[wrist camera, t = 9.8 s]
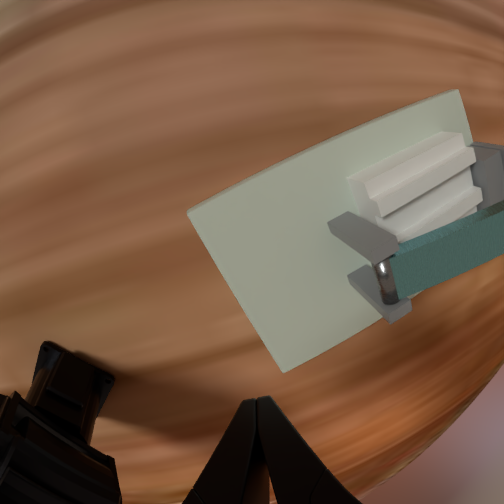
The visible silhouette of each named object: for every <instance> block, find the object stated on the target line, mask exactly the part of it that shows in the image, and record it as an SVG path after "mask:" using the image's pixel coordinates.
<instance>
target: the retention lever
mask: <svg viewBox="0 0 504 504" xmlns="http://www.w3.org/2000/svg"><path fill="white" fill-rule="evenodd" d="M398 245H399V249H400V250H398V251H397V252H395V253H394V254H392V255H390V256H389V257H387V258H385V259H384V260H382V261H381V262H379V263H377V264H376V265H374V264H373V263H371V265H372V268H373V272H374V275H375V278H376V282H377V285H378V289H379V293H380V296H381V300H382V303H383V304H385V305H394V304H396V303H398V302H399V301H400V300H401V299H402V298H405V297H407V296H410V295H412V294H415V293H417V292H420V291H422V290H425V289H427V288H430V287H432V286H434V285H437V284H439V283H441V282H444V281H446V280H448V279H450V278H453V277H455V276H457V275H459V274H462V273H464V272H466V271H468V270H470V269H473V268H475V267H477V266H479V265H481V264H483V263H485V262H487V261H489V260H491V259H493V258H495V257H498V256H500V255H502V254H503V253H504V200H502V201H500V202H498V203H496V204H493V205H491V206H489V207H487V208H484V209H482V210H480V211H477V212H475V213H473V214H471V215H468V216H466V217H464V218H461V219H459V220H456V221H454V222H452V223H449V224H447V225H445V226H442V227H440V228H437V229H435V230H432V231H430V232H428V233H425V234H423V235H420V236H418V237H415V238H413V239H410V240H408V241H405V242H403V243H400V244H398Z"/></svg>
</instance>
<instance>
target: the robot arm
mask: <svg viewBox="0 0 504 504" xmlns="http://www.w3.org/2000/svg"><path fill="white" fill-rule="evenodd" d="M46 347H47V348H48V349H47V348H46ZM107 379H109V380H107ZM114 381H115V378H114V376H113V375H111V374H109V373H107V372H105V371H103V370H101V369H99V368H97V367H95V366H93V365H90V364H88V363H87V362H85V361H83V360H81V359H79V358H77V357H75V356H73V355H71V354H69V353H67V352H66V351H64V350H62V349H60V348H58V347H56V346H55V345H53V344H51V343H49V342H47V341H44V342H43V343H42V345H41V347H40V351H39V355H38V359H37V363H36V367H35V372H34V376H33V381H32V386H31V388H30V390H29V392H28V394H27V396H26V398H25V400H24V399H23V398H22V397H21V395H20V394H19V393H17V392H16V391H14V392H13V393H12V394H11V395H10V396H7V395H6V396H5V395H2V394H0V504H122V496H121V491H120V487H119V482H118V476H117V471H116V465H115V459H114V458H112V457H111V456H109V455H105V454H103V453H101V452H100V451H98V450H96V449H95V448H93V447H91V446H90V443H91V438H92V434H93V429H94V424H95V420H96V418H97V416H98V414H99V412H100V410H101V408H102V406H103V404H104V402H105V400H106V398H107V396H108V394H109V392H110V390H111V388H112V387H113V385H114ZM269 475H270V479H271V482H272V486H273V490H274V493H275V497H276V500H277V504H362V503H361V502H360V501H359V500H358V499H356V498H355V497H354V496H353V495H352V494H351V493H350V492H349V491H348V490H346V488H345V487H344V486H343V485H342V484H341V483H340V482H339V481H338V480H337V479H336V478H335V476H334V475H333V474H332V473H331V472H330V471H329V469H327V467H326V466H325V465H324V464H323V463H322V461H321V460H320V459H319V458H318V456H317V455H316V454H315V453H314V452H313V450H312V449H311V448H310V447H309V445H308V444H307V443H306V441H305V440H304V439H303V438H302V436H301V435H300V434H299V433H298V431H297V430H296V429H295V427H294V426H293V425H292V424H291V422H290V421H289V420H288V418H287V417H286V416H285V414H284V413H283V412H282V410H281V409H280V408H279V406H278V405H277V404H276V402H275V401H274V400H273V398H272V397H271V396H269V395H268V396H263V397H258V398H257V400H256V399H255V398H252V399H247V400H243V401H242V402H241V404H240V406H239V408H238V410H237V412H236V413H235V415H234V417H233V419H232V421H231V422H230V424H229V426H228V428H227V430H226V431H225V433H224V435H223V437H222V438H221V440H220V442H219V444H218V445H217V447H216V449H215V451H214V452H213V454H212V456H211V458H210V459H209V461H208V463H207V464H206V466H205V468H204V469H203V471H202V473H201V474H200V476H199V478H198V479H197V481H196V483H195V484H194V486H193V488H194V489H191V490H190V492H189V494H188V495H187V497H186V498H185V500H184V501H183V503H182V504H269Z"/></svg>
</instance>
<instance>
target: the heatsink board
mask: <svg viewBox="0 0 504 504" xmlns="http://www.w3.org/2000/svg"><path fill="white" fill-rule="evenodd" d="M502 200H504V146H502V145H496V144H489V143H482V142H473V140H472V136H471V132H470V128H469V124H468V120H467V117H466V113H465V110H464V106H463V103H462V100H461V96H460V93H459V90H458V89H455V90H448V91H445V92H442V93H440V94H437V95H434V96H432V97H429V98H426V99H424V100H421V101H418V102H416V103H413V104H411V105H408V106H405V107H403V108H400V109H398V110H395V111H393V112H390V113H388V114H385V115H383V116H381V117H378V118H376V119H373V120H371V121H369V122H366V123H364V124H362V125H359V126H357V127H355V128H352V129H350V130H348V131H345V132H343V133H341V134H339V135H336V136H334V137H332V138H330V139H327V140H325V141H323V142H321V143H319V144H316V145H314V146H312V147H310V148H308V149H306V150H304V151H301V152H299V153H297V154H295V155H293V156H291V157H289V158H287V159H285V160H283V161H281V162H278V163H276V164H274V165H272V166H270V167H268V168H266V169H264V170H262V171H260V172H258V173H256V174H254V175H252V176H250V177H248V178H246V179H244V180H242V181H241V182H239V183H237V184H235V185H233V186H231V187H229V188H227V189H225V190H223V191H221V192H219V193H218V194H216V195H214V196H212V197H210V198H208V199H206V200H205V201H203V202H201V203H199V204H197V205H195V206H193V207H192V208H190V209H188V210H187V215H188V217H189V219H190V220H191V222H192V224H193V226H194V227H195V229H196V231H197V233H198V234H199V236H200V238H201V240H202V241H203V243H204V245H205V246H206V248H207V250H208V252H209V253H210V255H211V257H212V258H213V260H214V262H215V263H216V265H217V267H218V269H219V270H220V272H221V274H222V275H223V277H224V279H225V280H226V282H227V284H228V285H229V287H230V289H231V290H232V292H233V294H234V295H235V297H236V299H237V300H238V302H239V304H240V305H241V307H242V308H243V310H244V312H245V313H246V315H247V317H248V318H249V320H250V322H251V323H252V325H253V326H254V328H255V330H256V331H257V333H258V334H259V336H260V338H261V339H262V341H263V342H264V344H265V346H266V347H267V349H268V350H269V352H270V354H271V355H272V357H273V358H274V360H275V362H276V363H277V365H278V366H279V368H280V369H281V371H282V372H283V373H285V372H287V371H289V370H291V369H293V368H295V367H297V366H299V365H301V364H302V363H304V362H306V361H308V360H310V359H312V358H314V357H316V356H318V355H319V354H321V353H323V352H325V351H327V350H328V349H330V348H332V347H334V346H336V345H337V344H339V343H341V342H343V341H344V340H346V339H348V338H350V337H351V336H353V335H355V334H356V333H358V332H360V331H361V330H363V329H365V328H366V327H368V326H370V325H371V324H373V323H374V322H376V321H378V320H379V319H381V318H382V317H384V318H385V319H386V320H387V321H388V322H389V323H390V324H392V323H394V322H395V321H397V320H398V319H400V318H401V317H403V316H404V315H406V314H407V313H409V312H410V311H412V305H411V300H410V299H411V298H413V297H414V296H416V295H417V294H419V293H420V292H422V291H423V290H422V291H420V292H417V293H415V294H412V295H410V296H407V297H405V298H402V299H401V300H400V301H399V302H398V303H396V304H394V305H385V304H383V303H382V300H381V296H380V293H379V289H378V285H377V282H376V278H375V275H374V272H373V268H372V265H371V263H373V264H374V265H376V264H377V263H379V262H381V261H382V260H384V259H385V258H387V257H389V256H390V255H392V254H394V253H395V252H397V251H398V250H400V249H399V245H398V244H400V243H403V242H405V241H408V240H410V239H413V238H415V237H418V236H420V235H423V234H425V233H428V232H430V231H432V230H435V229H437V228H440V227H442V226H445V225H447V224H449V223H452V222H454V221H456V220H459V219H461V218H464V217H466V216H468V215H471V214H473V213H475V212H477V211H480V210H482V209H484V208H487V207H489V206H491V205H493V204H496V203H498V202H500V201H502Z"/></svg>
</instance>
